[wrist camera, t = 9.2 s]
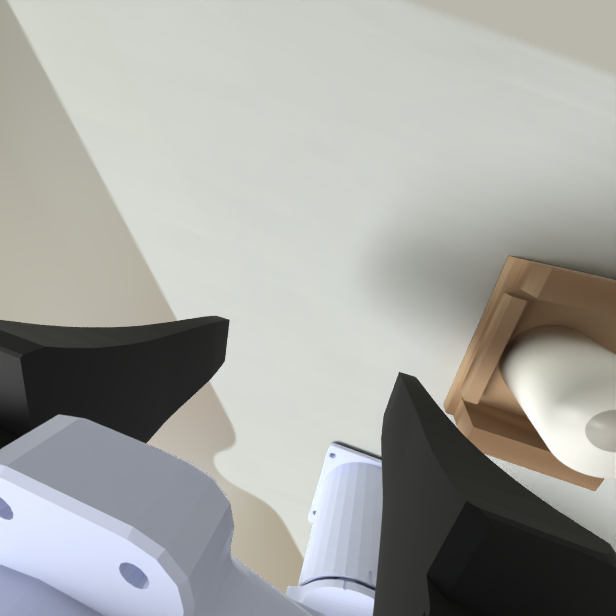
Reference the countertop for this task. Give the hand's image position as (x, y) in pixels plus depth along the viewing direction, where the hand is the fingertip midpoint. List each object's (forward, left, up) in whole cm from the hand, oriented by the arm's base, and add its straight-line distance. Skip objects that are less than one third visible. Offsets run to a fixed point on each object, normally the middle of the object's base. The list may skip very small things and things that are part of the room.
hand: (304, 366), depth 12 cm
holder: (0, -13, -10) cm, 16 cm away
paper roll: (0, -13, -9) cm, 16 cm away
